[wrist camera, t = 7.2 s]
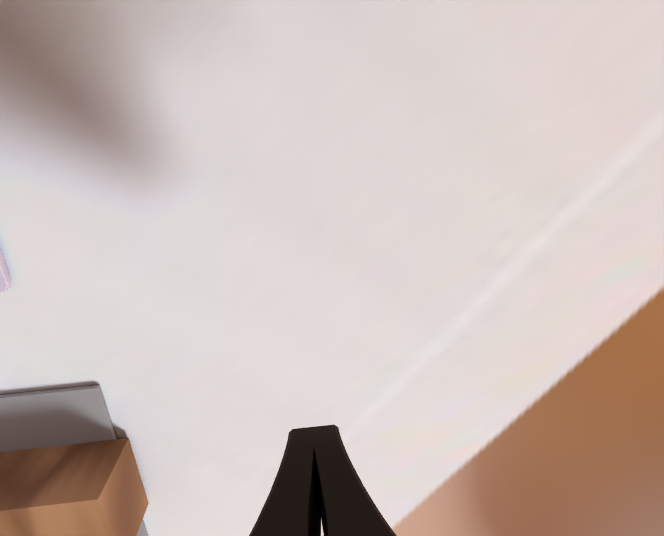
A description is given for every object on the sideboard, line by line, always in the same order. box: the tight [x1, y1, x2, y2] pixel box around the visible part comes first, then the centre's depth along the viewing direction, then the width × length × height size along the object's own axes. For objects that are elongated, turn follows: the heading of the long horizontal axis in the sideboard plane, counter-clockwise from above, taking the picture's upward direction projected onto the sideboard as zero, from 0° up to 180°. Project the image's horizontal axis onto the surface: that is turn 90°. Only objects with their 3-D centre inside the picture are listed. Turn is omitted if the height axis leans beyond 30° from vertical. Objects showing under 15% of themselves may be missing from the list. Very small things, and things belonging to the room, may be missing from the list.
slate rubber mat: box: [0, 385, 148, 536], centre depth 25 cm, size 11×12×1 cm
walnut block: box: [0, 438, 148, 536], centre depth 23 cm, size 4×5×8 cm
